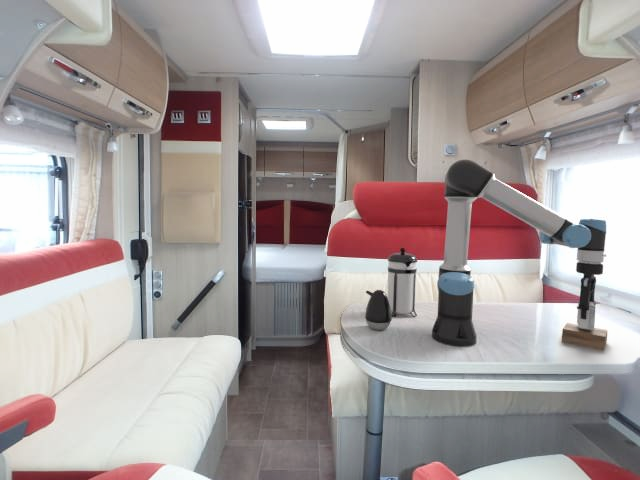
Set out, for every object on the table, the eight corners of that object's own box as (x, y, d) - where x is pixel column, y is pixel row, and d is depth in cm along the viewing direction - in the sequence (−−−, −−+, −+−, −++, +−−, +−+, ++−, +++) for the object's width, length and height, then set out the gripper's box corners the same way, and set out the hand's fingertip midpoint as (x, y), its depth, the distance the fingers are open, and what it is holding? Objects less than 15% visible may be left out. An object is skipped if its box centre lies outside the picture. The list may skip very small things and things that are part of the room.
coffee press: (424, 313, 161) (427, 247, 159) (407, 320, 150) (409, 250, 147) (391, 306, 173) (393, 245, 171) (372, 312, 161) (374, 246, 159)
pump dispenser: (369, 322, 146) (370, 286, 145) (394, 326, 141) (395, 289, 140) (360, 329, 137) (361, 290, 136) (387, 334, 132) (388, 293, 131)
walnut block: (604, 351, 120) (605, 336, 120) (561, 342, 128) (562, 328, 128) (606, 343, 127) (607, 330, 127) (566, 335, 135) (567, 322, 135)
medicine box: (594, 330, 123) (596, 306, 122) (578, 328, 125) (580, 304, 124) (591, 325, 129) (593, 301, 129) (576, 322, 132) (578, 299, 131)
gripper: (599, 266, 115) (593, 334, 117) (607, 261, 131) (602, 321, 132) (571, 263, 120) (566, 328, 122) (581, 258, 136) (577, 317, 137)
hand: (585, 324), depth 127 cm, fingers open, 9 cm apart
